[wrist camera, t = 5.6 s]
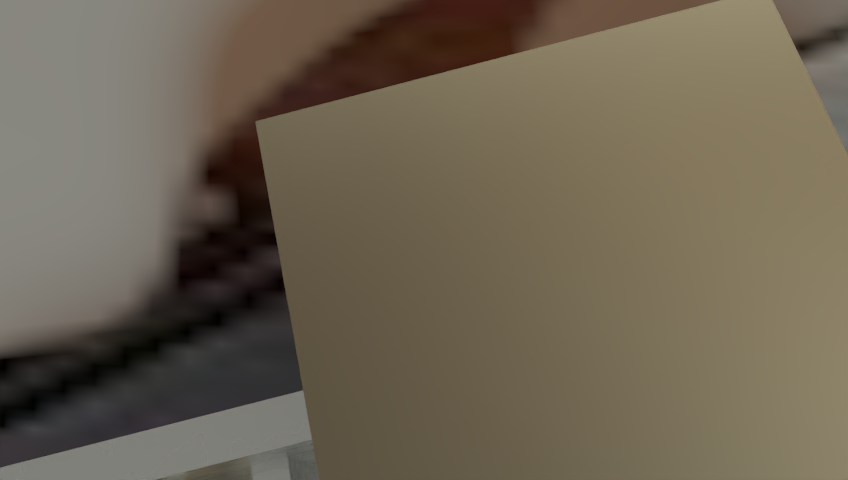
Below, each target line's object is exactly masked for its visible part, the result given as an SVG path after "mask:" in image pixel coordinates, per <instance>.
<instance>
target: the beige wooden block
mask: <svg viewBox="0 0 848 480" xmlns="http://www.w3.org/2000/svg"><path fill="white" fill-rule="evenodd" d="M255 122H256V127H257V133H258V139H259V144H260V150H261V156H262V161H263V167H264V173H265V178H266V184H267V189H268V195H269V201H270V206H271V212H272V218H273V223H274V229H275V235H276V240H277V246H278V251H279V257H280V263H281V268H282V274H283V280H284V285H285V291H286V297H287V302H288V308H289V313H290V319H291V325H292V330H293V336H294V342H295V347H296V353H297V359H298V364H299V370H300V375H301V381H302V387H303V392H304V398H305V404H306V409H307V415H308V421H309V426H310V432H311V437H312V443H313V449H314V454H315V460H316V466H317V471H318V477H319V480H848V154H847V152H846V150H845V148H844V146H843V144H842V142H841V140H840V138H839V136H838V134H837V132H836V130H835V128H834V126H833V123H832V121H831V119H830V117H829V115H828V113H827V111H826V109H825V107H824V105H823V103H822V101H821V99H820V97H819V95H818V93H817V91H816V89H815V87H814V85H813V83H812V80H811V78H810V76H809V74H808V72H807V70H806V68H805V66H804V64H803V62H802V60H801V58H800V56H799V54H798V52H797V50H796V48H795V46H794V44H793V42H792V40H791V38H790V35H789V33H788V31H787V29H786V27H785V25H784V23H783V21H782V19H781V17H780V15H779V13H778V11H777V9H776V7H775V5H774V3H773V1H772V0H721V1H717V2H713V3H709V4H706V5H701V6H698V7H694V8H690V9H686V10H682V11H679V12H675V13H671V14H667V15H663V16H659V17H655V18H652V19H648V20H644V21H640V22H636V23H632V24H628V25H625V26H621V27H617V28H613V29H609V30H606V31H602V32H598V33H594V34H590V35H586V36H582V37H578V38H575V39H571V40H567V41H563V42H559V43H555V44H551V45H548V46H544V47H540V48H536V49H532V50H528V51H525V52H521V53H517V54H513V55H509V56H505V57H501V58H498V59H494V60H490V61H486V62H482V63H478V64H475V65H471V66H467V67H463V68H459V69H455V70H451V71H448V72H444V73H440V74H436V75H432V76H428V77H425V78H421V79H417V80H413V81H409V82H405V83H401V84H398V85H394V86H390V87H386V88H382V89H378V90H375V91H371V92H367V93H363V94H359V95H355V96H351V97H348V98H344V99H340V100H336V101H332V102H328V103H325V104H321V105H317V106H313V107H309V108H305V109H301V110H298V111H294V112H290V113H286V114H282V115H278V116H275V117H271V118H267V119H263V120H259V121H255Z"/></svg>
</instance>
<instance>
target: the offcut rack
mask: <svg viewBox="0 0 848 480" xmlns="http://www.w3.org/2000/svg"><path fill="white" fill-rule="evenodd" d="M0 480H319V477H318V471H317V466H316V460H315V454H314V449H313V443H312V437H311V432H310V426H309V421H308V415H307V409H306V404H305V398H304V392H303V390H302V391H298V392H294V393H291V394H287V395H283V396H279V397H275V398H271V399H267V400H263V401H259V402H255V403H251V404H247V405H244V406H240V407H236V408H232V409H228V410H224V411H220V412H216V413H212V414H208V415H204V416H200V417H197V418H193V419H189V420H185V421H181V422H177V423H173V424H169V425H165V426H161V427H157V428H153V429H150V430H146V431H142V432H138V433H134V434H130V435H126V436H122V437H118V438H114V439H110V440H106V441H103V442H99V443H95V444H91V445H87V446H83V447H79V448H75V449H71V450H67V451H63V452H59V453H56V454H52V455H48V456H44V457H40V458H36V459H32V460H28V461H24V462H20V463H16V464H12V465H9V466H5V467H1V468H0Z"/></svg>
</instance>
